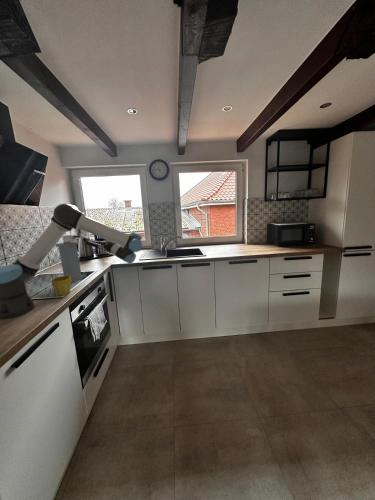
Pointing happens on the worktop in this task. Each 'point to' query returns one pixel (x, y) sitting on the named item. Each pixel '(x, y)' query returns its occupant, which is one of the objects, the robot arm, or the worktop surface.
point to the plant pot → (62, 284)
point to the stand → (70, 260)
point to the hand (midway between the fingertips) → (88, 234)
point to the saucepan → (70, 239)
